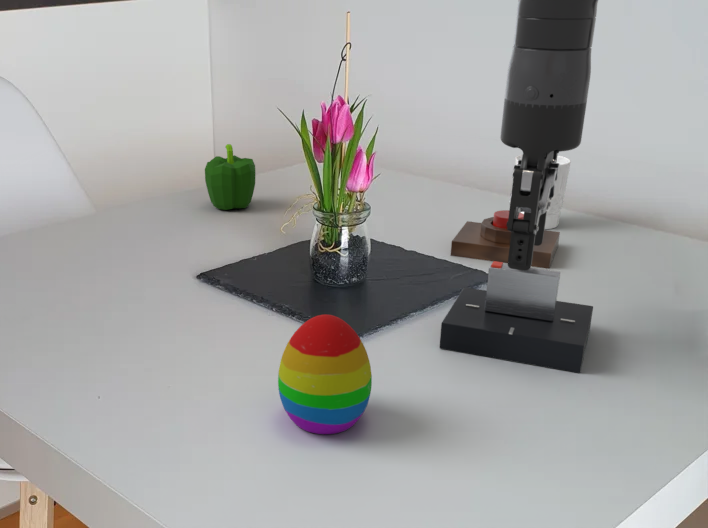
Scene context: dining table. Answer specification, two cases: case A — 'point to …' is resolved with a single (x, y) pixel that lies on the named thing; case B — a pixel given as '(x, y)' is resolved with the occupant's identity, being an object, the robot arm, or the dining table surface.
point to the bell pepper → (230, 181)
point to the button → (503, 218)
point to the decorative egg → (325, 376)
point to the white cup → (556, 192)
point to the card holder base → (517, 333)
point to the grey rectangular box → (522, 291)
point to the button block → (499, 244)
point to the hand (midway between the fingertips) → (525, 255)
